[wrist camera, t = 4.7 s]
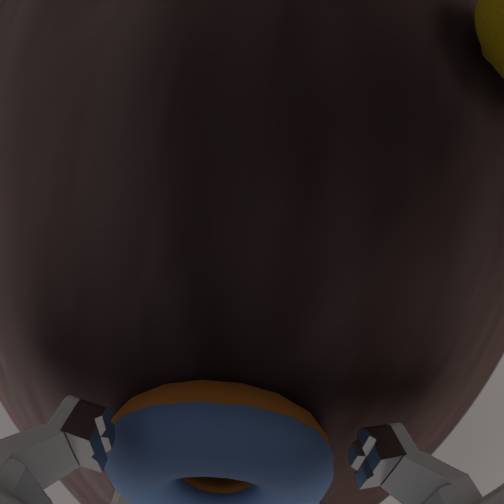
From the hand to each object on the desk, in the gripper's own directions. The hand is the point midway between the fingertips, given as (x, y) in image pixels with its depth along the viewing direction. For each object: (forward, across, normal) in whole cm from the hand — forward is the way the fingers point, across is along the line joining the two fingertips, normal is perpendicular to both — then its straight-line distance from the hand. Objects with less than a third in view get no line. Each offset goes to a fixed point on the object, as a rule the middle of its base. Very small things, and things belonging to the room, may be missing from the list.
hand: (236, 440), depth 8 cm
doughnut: (+3, 0, +4) cm, 5 cm away
